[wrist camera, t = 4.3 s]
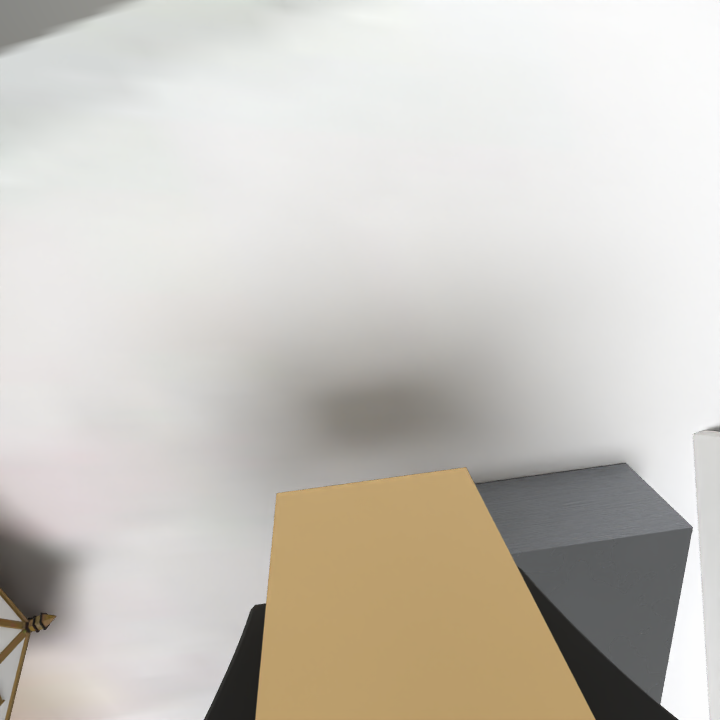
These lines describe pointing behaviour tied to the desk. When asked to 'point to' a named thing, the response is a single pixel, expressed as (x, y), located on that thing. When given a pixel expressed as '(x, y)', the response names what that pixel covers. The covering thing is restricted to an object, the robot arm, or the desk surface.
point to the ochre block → (403, 610)
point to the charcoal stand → (600, 558)
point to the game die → (14, 648)
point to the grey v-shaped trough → (709, 553)
